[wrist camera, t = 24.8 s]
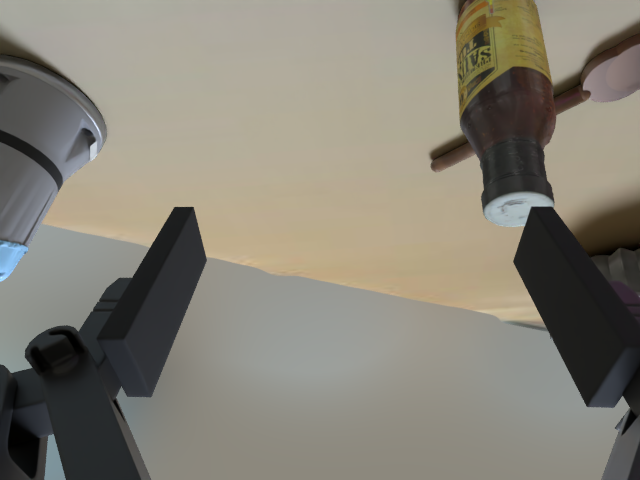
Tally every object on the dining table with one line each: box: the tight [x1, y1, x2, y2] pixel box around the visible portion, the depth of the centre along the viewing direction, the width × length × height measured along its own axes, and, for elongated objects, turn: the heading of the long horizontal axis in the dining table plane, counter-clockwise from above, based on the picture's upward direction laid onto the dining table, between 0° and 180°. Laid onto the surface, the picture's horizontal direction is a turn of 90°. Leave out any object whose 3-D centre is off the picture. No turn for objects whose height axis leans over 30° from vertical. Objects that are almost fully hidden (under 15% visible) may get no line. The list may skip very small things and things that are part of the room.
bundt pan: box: [550, 248, 640, 340], centre depth 64 cm, size 26×26×10 cm
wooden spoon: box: [431, 34, 640, 172], centre depth 43 cm, size 24×5×2 cm, turn 138°
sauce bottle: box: [456, 0, 556, 227], centre depth 30 cm, size 6×6×20 cm
